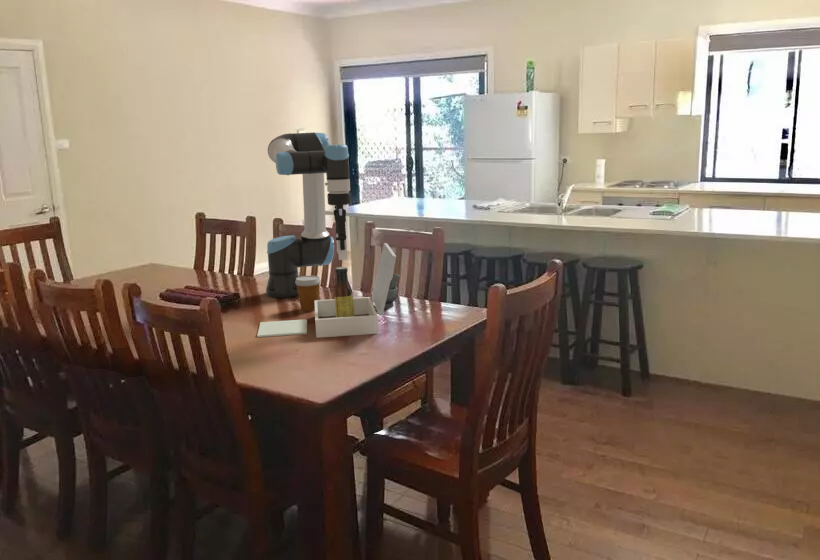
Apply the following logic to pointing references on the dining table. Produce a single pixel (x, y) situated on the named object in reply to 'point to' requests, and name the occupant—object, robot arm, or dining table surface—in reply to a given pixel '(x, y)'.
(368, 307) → the case
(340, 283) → the sauce bottle
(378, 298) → the case lid
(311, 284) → the disposable coffee cup
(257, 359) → the dining table surface
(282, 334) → the mat
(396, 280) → the mortar and pestle
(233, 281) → the dining table surface
